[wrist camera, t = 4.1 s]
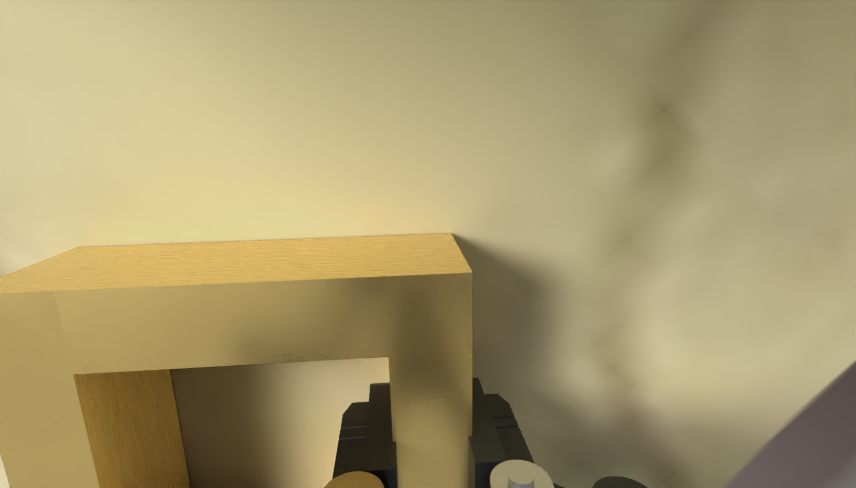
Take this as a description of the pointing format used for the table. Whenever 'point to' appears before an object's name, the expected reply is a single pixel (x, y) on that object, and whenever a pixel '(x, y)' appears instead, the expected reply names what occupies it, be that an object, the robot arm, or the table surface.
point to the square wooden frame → (225, 347)
